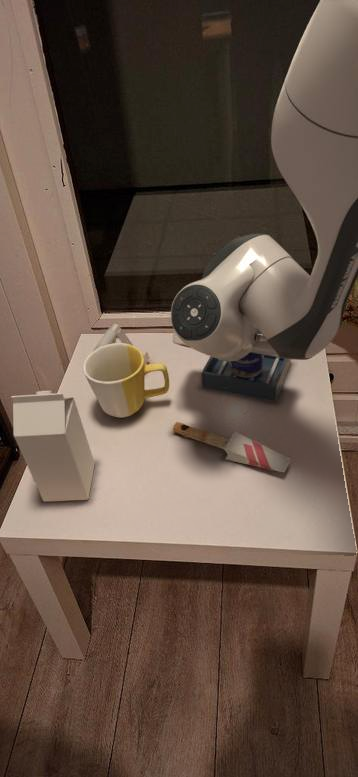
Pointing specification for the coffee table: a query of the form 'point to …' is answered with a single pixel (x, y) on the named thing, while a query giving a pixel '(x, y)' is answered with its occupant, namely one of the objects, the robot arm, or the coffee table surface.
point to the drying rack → (259, 386)
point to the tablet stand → (111, 337)
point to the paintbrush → (238, 448)
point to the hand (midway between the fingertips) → (247, 343)
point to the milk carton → (53, 445)
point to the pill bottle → (248, 365)
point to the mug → (121, 378)
